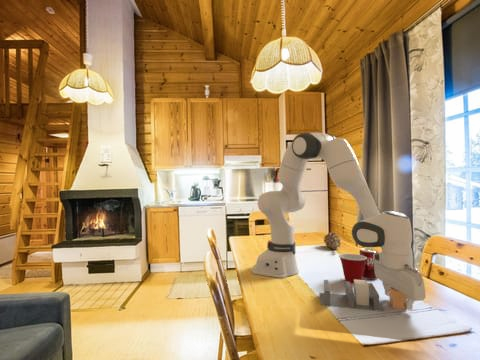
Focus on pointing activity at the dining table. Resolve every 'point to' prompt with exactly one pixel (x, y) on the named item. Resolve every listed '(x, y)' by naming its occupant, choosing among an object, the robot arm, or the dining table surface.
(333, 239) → the pine cone
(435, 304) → the dining table surface
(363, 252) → the soda can
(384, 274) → the robot arm
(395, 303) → the orange block
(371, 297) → the grey slotted rack
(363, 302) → the cream rectangular block
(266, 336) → the dining table surface
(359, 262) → the plastic cup
